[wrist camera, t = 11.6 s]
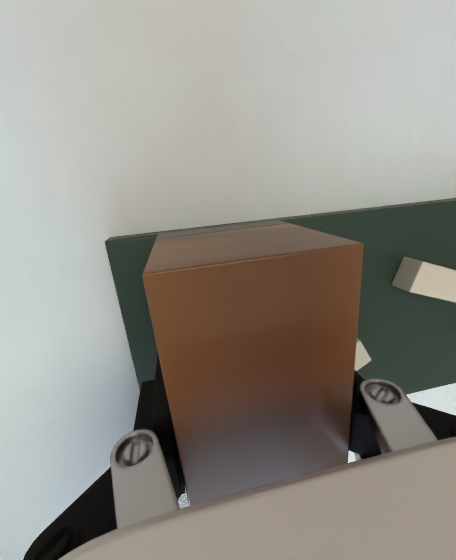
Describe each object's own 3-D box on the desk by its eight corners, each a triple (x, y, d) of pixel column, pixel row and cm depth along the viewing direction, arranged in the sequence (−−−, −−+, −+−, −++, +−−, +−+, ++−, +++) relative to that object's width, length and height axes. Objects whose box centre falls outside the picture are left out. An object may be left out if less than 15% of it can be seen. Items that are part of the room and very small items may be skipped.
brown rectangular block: (196, 456, 14) (208, 601, 9) (157, 233, 11) (141, 274, 5) (284, 435, 15) (340, 558, 10) (278, 220, 11) (364, 242, 6)
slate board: (155, 440, 16) (154, 455, 15) (109, 237, 12) (103, 240, 11) (536, 352, 20) (554, 359, 19) (591, 182, 16) (616, 181, 15)
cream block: (391, 284, 15) (409, 292, 13) (403, 256, 14) (423, 261, 13) (446, 297, 16) (467, 305, 14) (458, 271, 15) (481, 277, 14)
